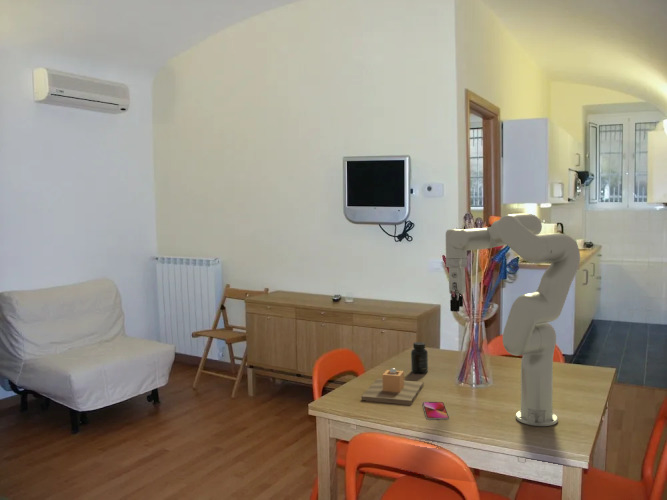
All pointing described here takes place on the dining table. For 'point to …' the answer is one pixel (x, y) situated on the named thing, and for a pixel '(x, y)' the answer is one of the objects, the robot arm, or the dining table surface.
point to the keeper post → (393, 371)
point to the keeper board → (393, 393)
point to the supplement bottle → (419, 358)
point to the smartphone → (435, 411)
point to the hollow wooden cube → (393, 381)
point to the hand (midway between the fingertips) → (456, 308)
